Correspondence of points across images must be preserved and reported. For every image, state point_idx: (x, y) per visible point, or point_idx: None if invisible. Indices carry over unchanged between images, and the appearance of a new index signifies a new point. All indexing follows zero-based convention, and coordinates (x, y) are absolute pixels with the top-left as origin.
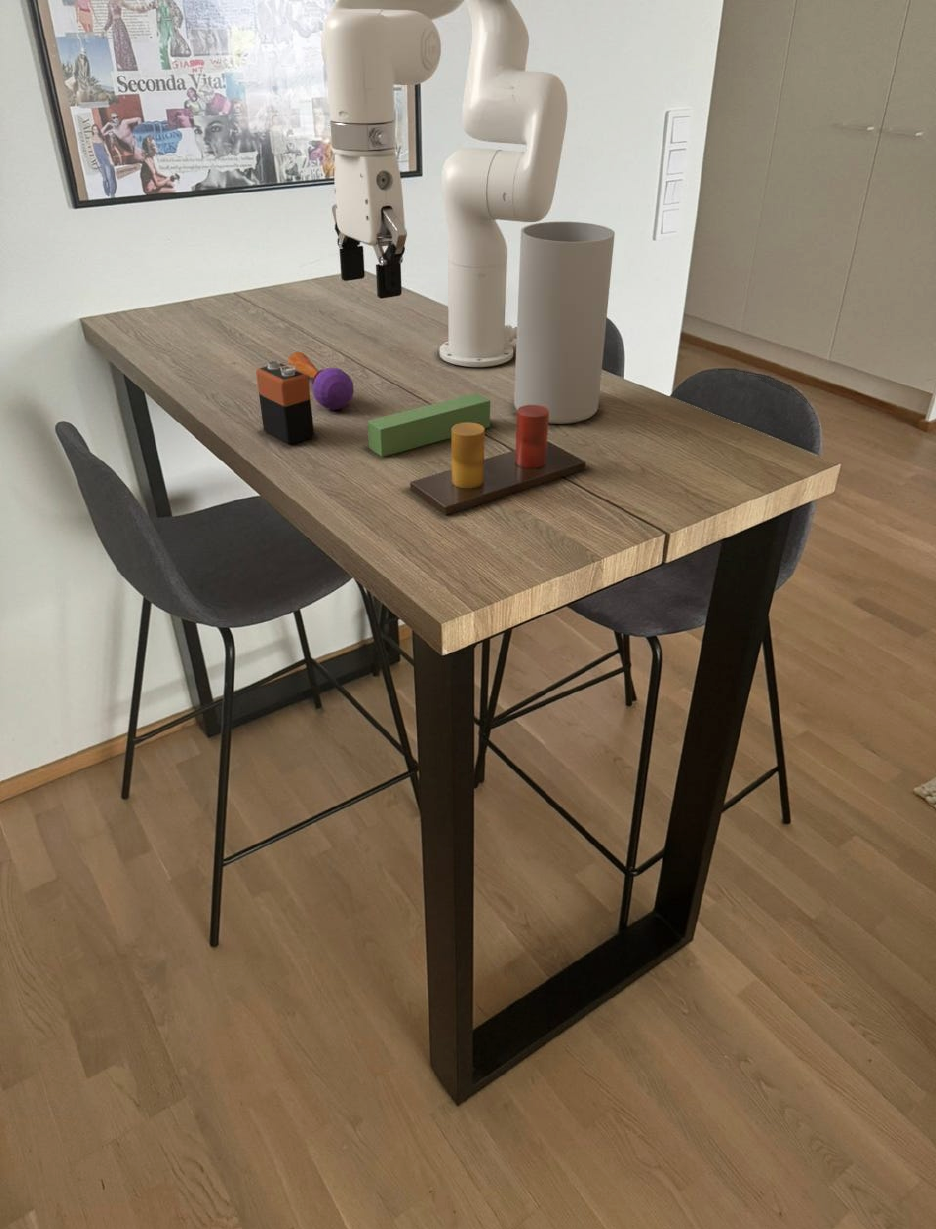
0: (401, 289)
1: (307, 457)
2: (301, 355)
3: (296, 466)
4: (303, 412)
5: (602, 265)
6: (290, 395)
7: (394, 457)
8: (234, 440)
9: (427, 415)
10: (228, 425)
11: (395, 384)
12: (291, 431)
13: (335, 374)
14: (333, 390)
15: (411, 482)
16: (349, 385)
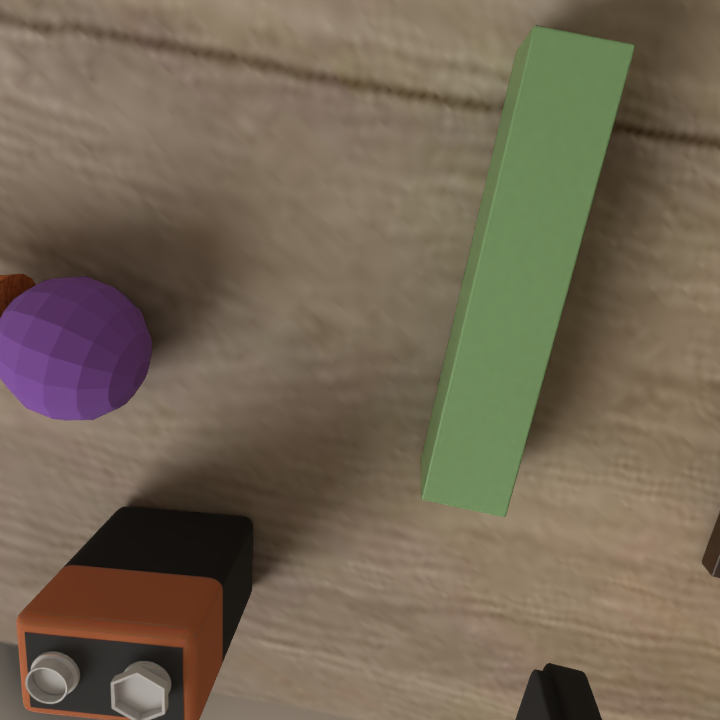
0: (591, 692)
1: (341, 602)
2: None
3: (364, 650)
4: (232, 591)
5: None
6: (212, 671)
7: None
8: None
9: (543, 334)
10: None
11: (61, 26)
12: (243, 606)
13: (78, 375)
14: (123, 394)
15: (718, 576)
16: (126, 330)
